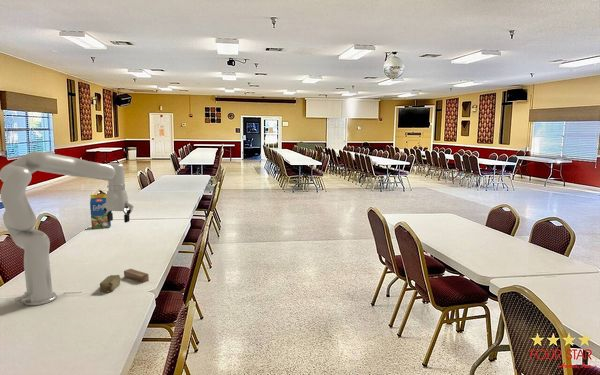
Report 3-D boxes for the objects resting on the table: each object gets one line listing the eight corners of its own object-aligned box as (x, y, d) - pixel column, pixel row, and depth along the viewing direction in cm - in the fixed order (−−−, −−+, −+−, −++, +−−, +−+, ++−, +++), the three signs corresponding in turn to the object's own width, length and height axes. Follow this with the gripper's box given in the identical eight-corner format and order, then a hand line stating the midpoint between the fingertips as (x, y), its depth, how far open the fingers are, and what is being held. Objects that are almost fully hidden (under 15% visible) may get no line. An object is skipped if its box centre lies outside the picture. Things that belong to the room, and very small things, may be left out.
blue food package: (93, 226, 315) (91, 194, 311) (110, 226, 318) (108, 193, 314) (91, 228, 309) (89, 195, 305) (109, 228, 312) (107, 194, 308)
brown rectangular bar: (141, 283, 206) (141, 276, 205) (124, 277, 213) (123, 270, 213) (148, 280, 209) (148, 273, 208) (131, 275, 216) (130, 268, 216)
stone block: (121, 283, 205) (120, 274, 204) (112, 293, 194) (111, 283, 193) (109, 284, 205) (108, 274, 204) (99, 293, 194) (98, 283, 193)
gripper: (96, 188, 208) (98, 222, 211) (127, 189, 204) (128, 224, 207) (107, 186, 215) (108, 218, 218) (136, 187, 211) (138, 220, 214)
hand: (118, 221), depth 212 cm, fingers open, 9 cm apart
